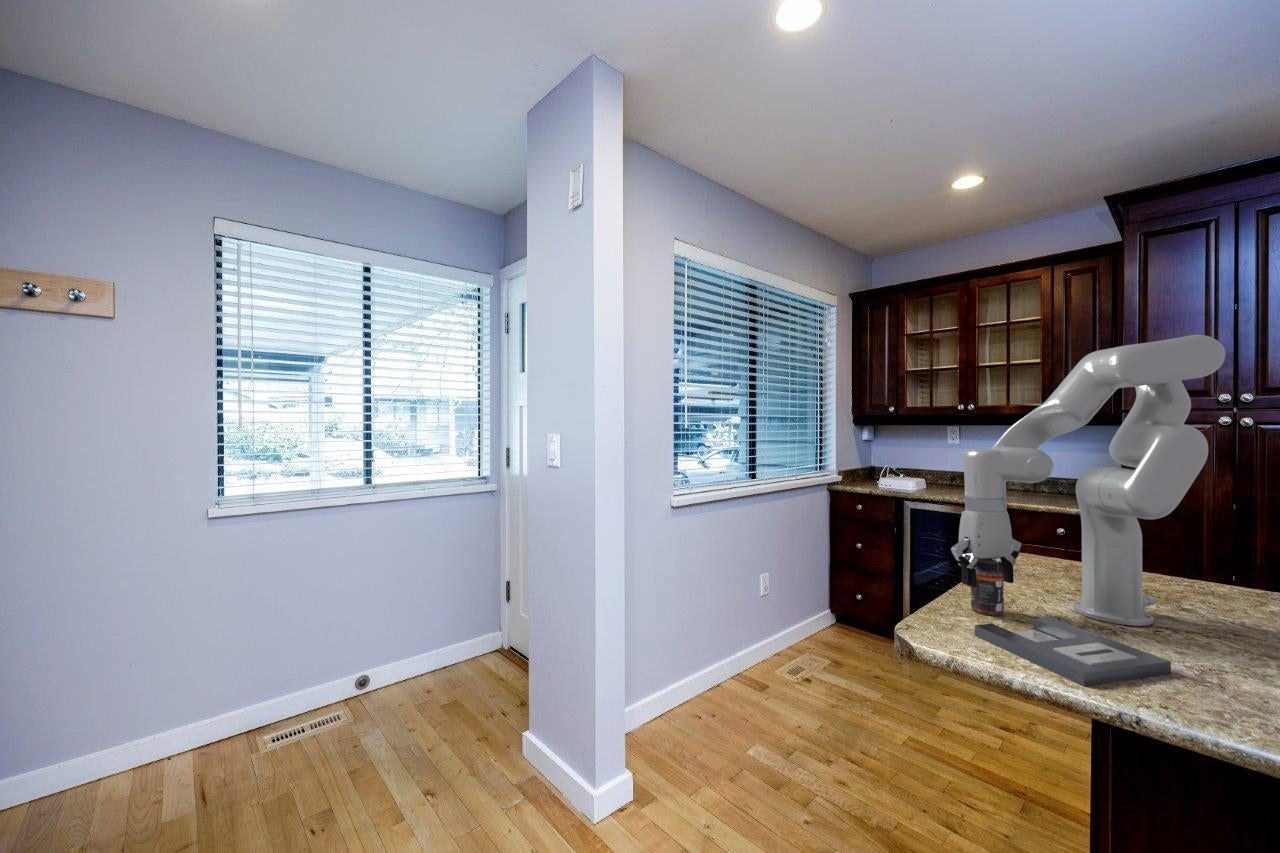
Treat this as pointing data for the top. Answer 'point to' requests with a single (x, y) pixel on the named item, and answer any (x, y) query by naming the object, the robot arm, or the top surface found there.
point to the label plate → (1075, 652)
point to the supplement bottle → (988, 588)
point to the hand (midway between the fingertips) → (987, 583)
